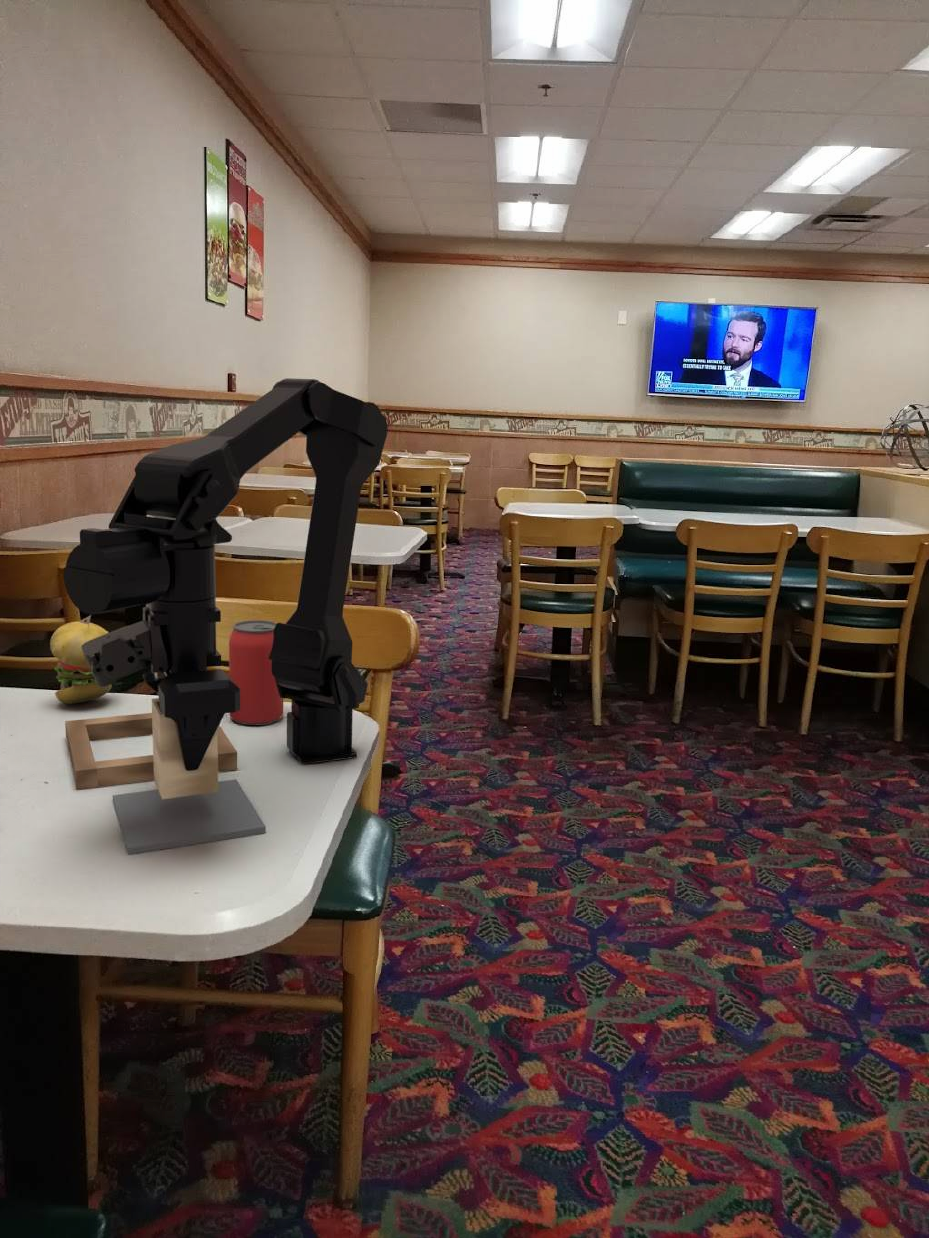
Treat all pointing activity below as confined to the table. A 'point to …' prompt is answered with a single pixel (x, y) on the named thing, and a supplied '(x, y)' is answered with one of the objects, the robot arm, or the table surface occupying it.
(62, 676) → the hamburger
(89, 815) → the table surface
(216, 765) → the maple block
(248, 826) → the rubber mat
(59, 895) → the table surface
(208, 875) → the table surface
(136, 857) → the table surface
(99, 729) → the wooden frame
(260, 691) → the beer can
